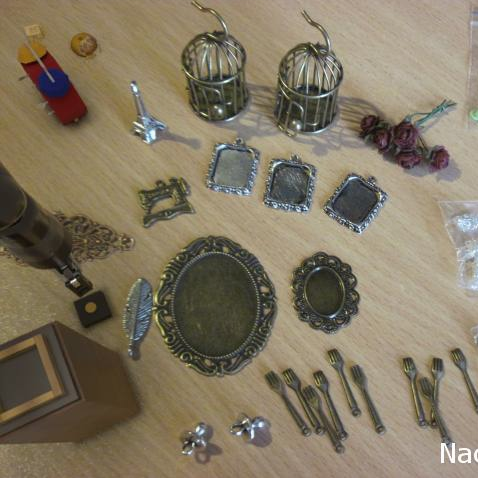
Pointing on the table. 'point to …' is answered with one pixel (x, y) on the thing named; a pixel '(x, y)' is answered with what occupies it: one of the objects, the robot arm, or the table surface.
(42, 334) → the stand
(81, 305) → the dark brown block
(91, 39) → the fruit
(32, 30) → the alphabet block
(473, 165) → the table surface
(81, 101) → the red and blue toy
